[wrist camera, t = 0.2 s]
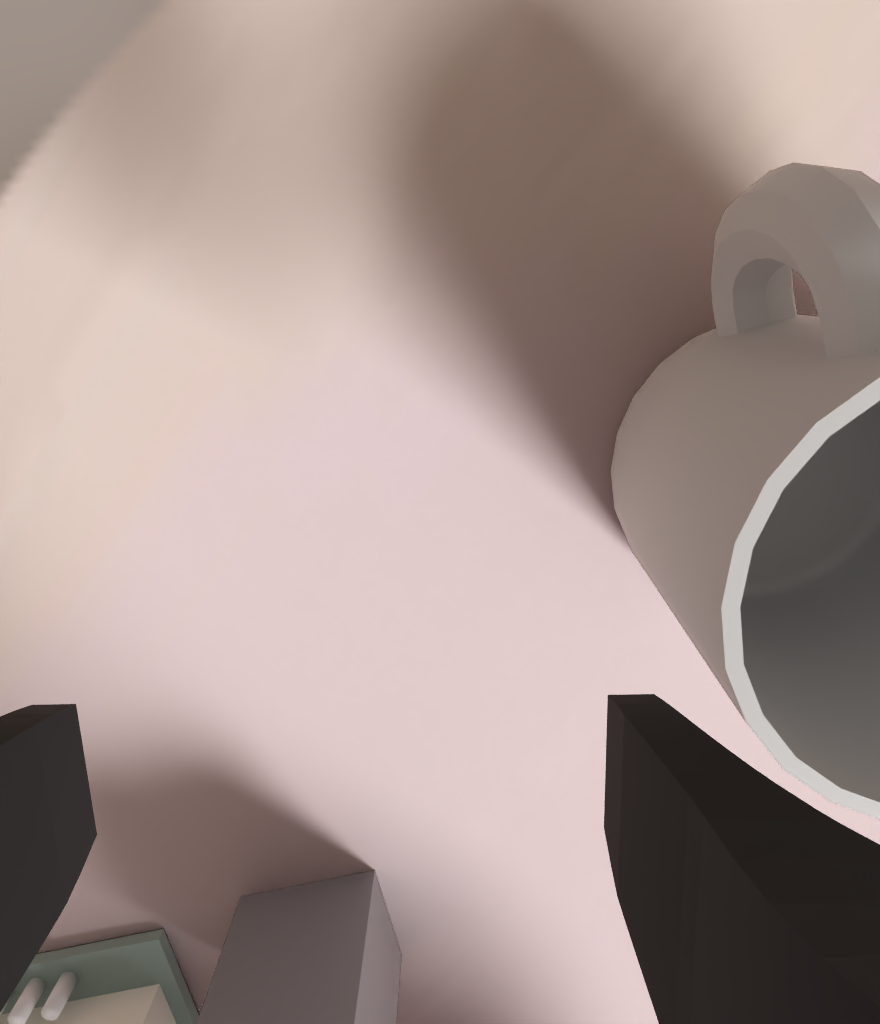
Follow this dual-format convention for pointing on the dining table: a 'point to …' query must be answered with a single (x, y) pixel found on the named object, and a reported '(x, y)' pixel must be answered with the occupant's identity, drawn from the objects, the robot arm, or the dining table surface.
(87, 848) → the robot arm
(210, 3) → the dining table surface
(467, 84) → the dining table surface
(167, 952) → the board
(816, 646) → the cup
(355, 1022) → the plug
